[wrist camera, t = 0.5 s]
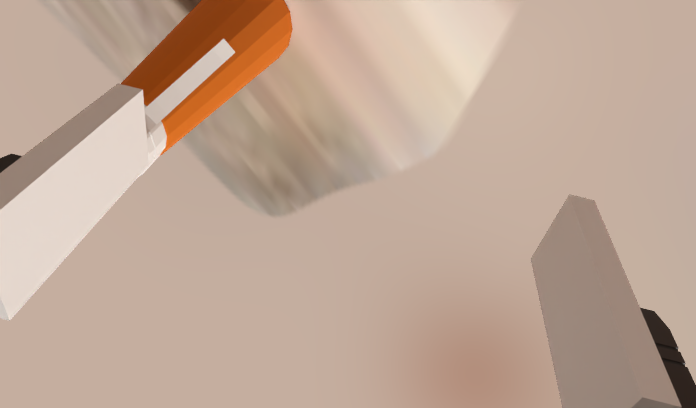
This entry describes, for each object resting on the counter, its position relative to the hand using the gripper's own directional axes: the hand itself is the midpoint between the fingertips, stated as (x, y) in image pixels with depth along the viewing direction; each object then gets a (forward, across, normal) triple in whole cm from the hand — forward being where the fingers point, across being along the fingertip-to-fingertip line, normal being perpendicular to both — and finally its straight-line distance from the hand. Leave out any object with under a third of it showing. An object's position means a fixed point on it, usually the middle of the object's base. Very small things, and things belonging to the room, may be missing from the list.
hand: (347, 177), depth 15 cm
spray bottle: (+26, -10, -4) cm, 29 cm away
